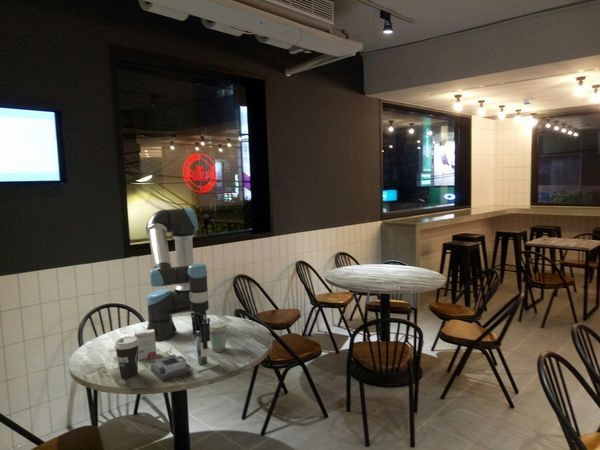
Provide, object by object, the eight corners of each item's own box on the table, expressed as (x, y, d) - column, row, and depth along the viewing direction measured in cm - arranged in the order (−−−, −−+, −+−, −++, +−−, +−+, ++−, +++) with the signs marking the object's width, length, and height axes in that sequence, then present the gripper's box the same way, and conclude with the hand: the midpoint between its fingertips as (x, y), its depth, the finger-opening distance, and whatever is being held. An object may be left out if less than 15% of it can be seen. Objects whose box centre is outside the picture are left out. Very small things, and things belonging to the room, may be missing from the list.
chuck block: (151, 371, 178) (150, 361, 177) (178, 363, 185) (178, 353, 185) (162, 381, 168) (161, 370, 168) (190, 372, 176) (190, 361, 175)
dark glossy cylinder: (196, 362, 183) (194, 330, 181) (204, 359, 185) (203, 328, 184) (200, 365, 180) (198, 332, 178) (209, 362, 182) (207, 330, 181)
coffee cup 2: (224, 354, 193) (222, 328, 192) (206, 353, 195) (205, 327, 194) (230, 346, 202) (229, 322, 200) (213, 345, 203) (212, 321, 202)
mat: (187, 364, 183) (186, 363, 183) (208, 358, 190) (208, 356, 189) (197, 372, 176) (197, 370, 176) (219, 365, 182) (218, 363, 182)
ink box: (156, 353, 197) (154, 328, 196) (156, 357, 192) (154, 331, 191) (136, 355, 194) (134, 330, 193) (136, 360, 190) (134, 334, 188)
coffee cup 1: (121, 370, 179) (118, 336, 178) (144, 369, 180) (142, 334, 179) (113, 381, 170) (110, 345, 168) (137, 379, 171) (135, 343, 169)
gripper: (182, 298, 184) (185, 350, 186) (200, 306, 171) (203, 363, 173) (198, 295, 188) (201, 346, 191) (216, 303, 175) (219, 357, 178)
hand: (202, 354), depth 182 cm, fingers closed on dark glossy cylinder, 4 cm apart
